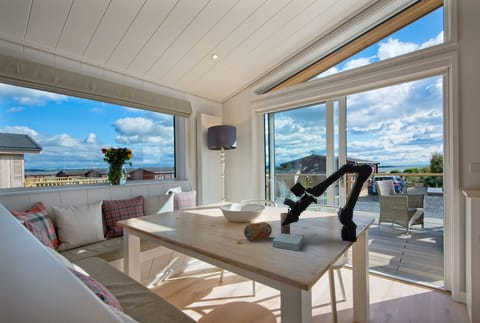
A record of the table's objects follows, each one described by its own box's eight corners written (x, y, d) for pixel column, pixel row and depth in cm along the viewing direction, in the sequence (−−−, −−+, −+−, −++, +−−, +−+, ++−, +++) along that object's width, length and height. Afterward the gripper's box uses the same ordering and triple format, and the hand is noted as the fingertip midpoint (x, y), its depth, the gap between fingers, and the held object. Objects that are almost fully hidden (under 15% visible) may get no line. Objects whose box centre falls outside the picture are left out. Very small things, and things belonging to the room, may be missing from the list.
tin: (245, 241, 119) (244, 224, 119) (243, 239, 122) (242, 223, 122) (272, 238, 123) (271, 222, 123) (269, 236, 126) (269, 220, 126)
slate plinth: (303, 242, 115) (303, 236, 115) (297, 250, 104) (297, 243, 104) (280, 238, 121) (280, 233, 121) (272, 246, 110) (272, 240, 110)
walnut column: (291, 235, 127) (290, 213, 127) (288, 237, 122) (288, 215, 122) (282, 233, 129) (282, 212, 129) (279, 236, 124) (279, 214, 124)
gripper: (292, 190, 134) (273, 209, 136) (291, 195, 115) (269, 216, 118) (307, 204, 132) (287, 223, 134) (308, 211, 113) (285, 232, 116)
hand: (282, 223), depth 126 cm, fingers open, 7 cm apart
